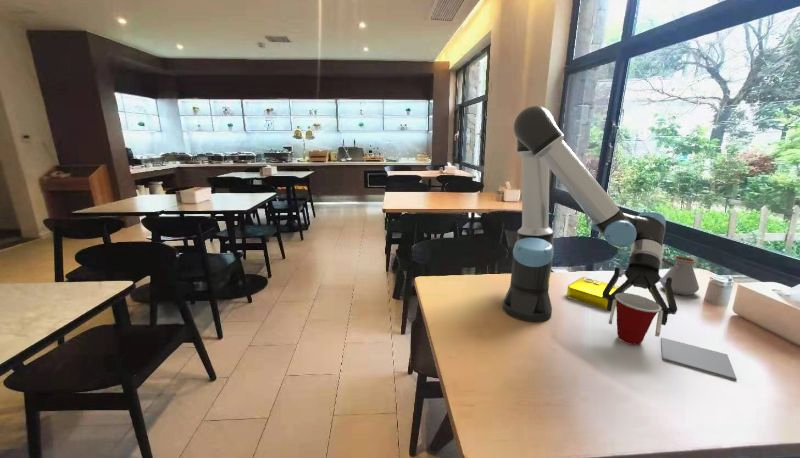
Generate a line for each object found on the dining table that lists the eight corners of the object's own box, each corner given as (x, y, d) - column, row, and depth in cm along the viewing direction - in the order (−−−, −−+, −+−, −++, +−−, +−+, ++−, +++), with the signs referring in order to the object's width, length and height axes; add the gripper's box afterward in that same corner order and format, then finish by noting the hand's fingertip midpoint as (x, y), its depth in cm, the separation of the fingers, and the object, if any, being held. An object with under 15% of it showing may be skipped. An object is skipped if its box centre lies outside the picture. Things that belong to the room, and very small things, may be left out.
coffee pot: (669, 283, 140) (677, 247, 137) (703, 294, 130) (713, 256, 126) (637, 292, 131) (644, 254, 127) (671, 305, 121) (680, 264, 117)
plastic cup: (661, 352, 92) (671, 311, 89) (616, 347, 94) (624, 306, 91) (642, 331, 102) (650, 293, 99) (602, 327, 104) (608, 290, 101)
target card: (662, 359, 89) (662, 357, 89) (660, 339, 99) (661, 337, 99) (736, 380, 82) (736, 378, 82) (726, 356, 91) (727, 354, 91)
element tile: (564, 297, 127) (566, 284, 126) (581, 286, 137) (582, 275, 136) (609, 311, 116) (612, 298, 115) (624, 299, 126) (626, 286, 125)
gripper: (690, 273, 100) (683, 346, 91) (600, 257, 112) (586, 320, 103) (697, 260, 94) (689, 337, 86) (601, 245, 107) (586, 311, 98)
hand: (633, 328), depth 94 cm, fingers closed on plastic cup, 10 cm apart
